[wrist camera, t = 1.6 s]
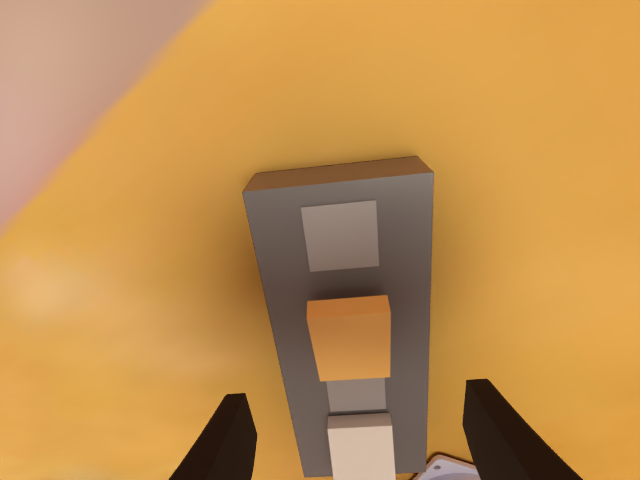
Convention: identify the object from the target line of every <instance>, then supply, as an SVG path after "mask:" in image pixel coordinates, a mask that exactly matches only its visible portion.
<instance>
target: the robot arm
mask: <svg viewBox="0 0 640 480" xmlns="http://www.w3.org/2000/svg"><path fill="white" fill-rule="evenodd" d="M463 428H464V432H465V435H466V438H467V442H468V445H469V449H470V452H471V455H472V459H473V462H474V464H475V465H472V464H468V463H465V462H462V461H459V460H456V459H453V458H450V457H447V456H443V455H436V456H435V457H433V458H432V460H431V461H430V462H429V463H428V464H427V465H426V472H422V473H419V474H418V475H417V476H416V477H415V478H414V479H413V480H583V479H582V478H581V477H580V476H579V475H578V474H577V473H576V472H575V471H573V470H572V469H571V468H570V467H569V466H568V465H567V464H566V463H565V462H564V461H563V460H562V459H561V458H560V457H559V456H558V455H557V454H556V453H555V452H554V451H553V450H552V449H551V448H550V447H549V446H548V445H547V444H546V443H545V442H544V441H543V440H542V438H541V437H540V436H539V435H538V434H537V433H536V432H535V431H534V430H533V429H532V428H531V427H530V426H529V425H528V424H527V423H526V422H525V421H524V419H523V418H522V417H521V416H520V415H519V414H518V413H517V412H516V411H515V409H514V408H513V407H512V406H511V405H510V404H509V403H508V402H507V400H506V399H505V398H504V397H503V396H502V395H501V394H500V392H499V391H498V390H497V389H496V388H495V387H494V385H493V384H492V383H491V382H490V381H489V380H488V379H475V380H467V381H466V392H465V403H464V414H463ZM256 442H257V432H256V429H255V425H254V422H253V418H252V415H251V411H250V408H249V404H248V401H247V398H246V394H245V393H240V394H227V395H226V396H225V397H224V398H223V400H222V402H221V403H220V405H219V406H218V408H217V410H216V411H215V413H214V414H213V416H212V418H211V419H210V421H209V422H208V424H207V425H206V427H205V428H204V430H203V431H202V433H201V434H200V436H199V437H198V439H197V440H196V442H195V443H194V445H193V446H192V448H191V449H190V451H189V452H188V453H187V455H186V456H185V458H184V459H183V461H182V462H181V464H180V465H179V466H178V468H177V469H176V470H175V472H174V473H173V474H172V476H171V477H170V478H169V480H251V477H252V472H253V466H254V459H255V451H256Z"/></svg>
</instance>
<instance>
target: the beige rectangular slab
mask: <svg viewBox="0 0 640 480" xmlns="http://www.w3.org/2000/svg"><path fill="white" fill-rule="evenodd" d="M327 429H328V438H329V446H330V454H331V463H332V471H333V480H396V476H395V462H394V447H393V433H392V423H391V418H390V413H377V414H359V415H340V416H328V428H327Z"/></svg>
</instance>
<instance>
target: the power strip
mask: <svg viewBox="0 0 640 480" xmlns="http://www.w3.org/2000/svg"><path fill="white" fill-rule="evenodd" d="M433 178H434V172H433V171H432V170H431V169H430V168H429V167H428V166H427V165H426V164H425V163H424V162H423V161H422V160H421V159H420V158H419V157H418V156H414V157H404V158H395V159H385V160H376V161H367V162H357V163H348V164H339V165H329V166H320V167H310V168H301V169H292V170H282V171H273V172H263V173H256V174H255V175H254V176H253V178H252V179H251V180H250V182H249V183H248V185H247V186H246V187H245V189H244V190H243V192H242V194H243V198H244V203H245V207H246V212H247V216H248V221H249V226H250V230H251V235H252V239H253V244H254V249H255V253H256V258H257V262H258V267H259V271H260V276H261V281H262V285H263V290H264V294H265V299H266V303H267V308H268V313H269V317H270V322H271V326H272V331H273V335H274V340H275V345H276V349H277V354H278V358H279V363H280V368H281V372H282V377H283V381H284V386H285V390H286V395H287V400H288V404H289V409H290V413H291V418H292V422H293V427H294V432H295V436H296V441H297V445H298V450H299V455H300V459H301V464H302V468H303V473H304V477H325V476H333V471H332V463H331V454H330V446H329V438H328V429H327V428H328V416H340V415H359V414H377V413H390V418H391V423H392V433H393V447H394V462H395V474H398V473H422V472H426V450H427V411H428V372H429V333H430V294H431V256H432V217H433ZM380 295H387V296H388V301H389V306H390V311H391V345H390V377H385V378H368V379H352V380H336V381H320V379H319V374H318V370H317V365H316V360H315V356H314V351H313V346H312V342H311V337H310V332H309V328H308V323H307V301H316V300H329V299H342V298H354V297H367V296H380Z"/></svg>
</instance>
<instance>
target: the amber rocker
mask: <svg viewBox="0 0 640 480" xmlns="http://www.w3.org/2000/svg"><path fill="white" fill-rule="evenodd" d="M307 323H308V328H309V332H310V337H311V342H312V346H313V351H314V356H315V360H316V365H317V370H318V374H319V379H320V381H336V380H352V379H368V378H385V377H390V345H391V311H390V306H389V301H388V296H387V295H380V296H367V297H354V298H342V299H329V300H316V301H307Z"/></svg>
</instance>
